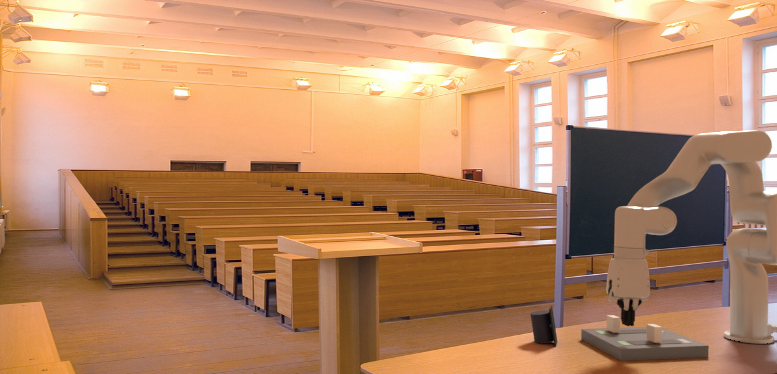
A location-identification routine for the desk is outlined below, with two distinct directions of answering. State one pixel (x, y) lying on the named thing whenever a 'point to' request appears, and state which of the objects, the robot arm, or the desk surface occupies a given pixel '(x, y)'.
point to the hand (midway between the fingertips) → (627, 324)
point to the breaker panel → (643, 344)
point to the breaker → (613, 323)
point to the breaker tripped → (654, 333)
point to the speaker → (544, 326)
